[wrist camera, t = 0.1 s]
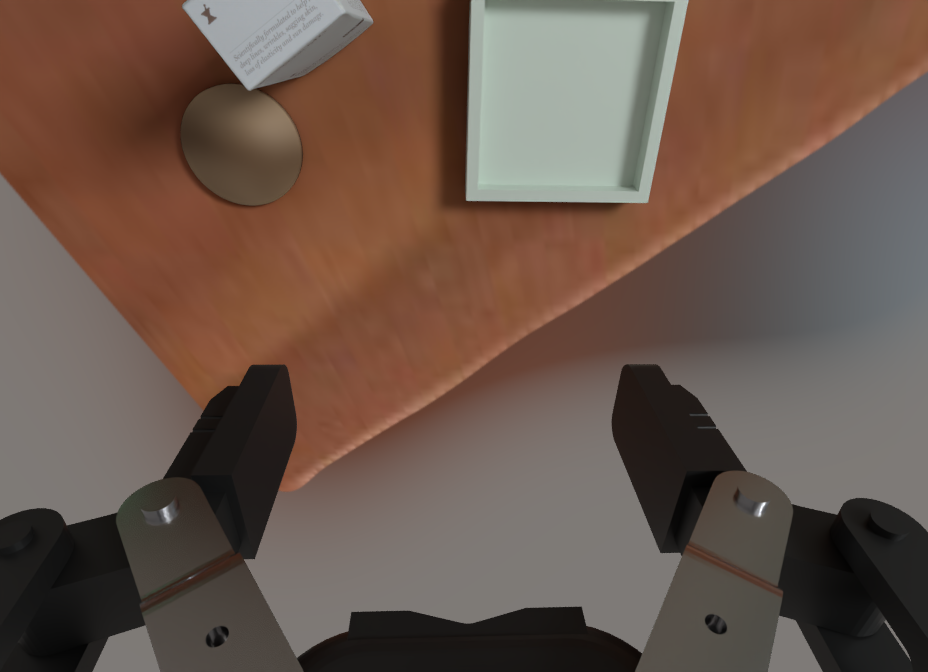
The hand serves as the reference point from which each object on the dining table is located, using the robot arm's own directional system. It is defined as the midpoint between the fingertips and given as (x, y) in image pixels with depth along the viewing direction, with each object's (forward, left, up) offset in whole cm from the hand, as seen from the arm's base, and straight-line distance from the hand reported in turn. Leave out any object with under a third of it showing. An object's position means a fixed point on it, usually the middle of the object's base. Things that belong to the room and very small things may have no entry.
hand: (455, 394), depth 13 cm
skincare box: (-8, -8, -29) cm, 31 cm away
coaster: (0, -14, -29) cm, 32 cm away
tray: (-3, +8, -29) cm, 30 cm away
